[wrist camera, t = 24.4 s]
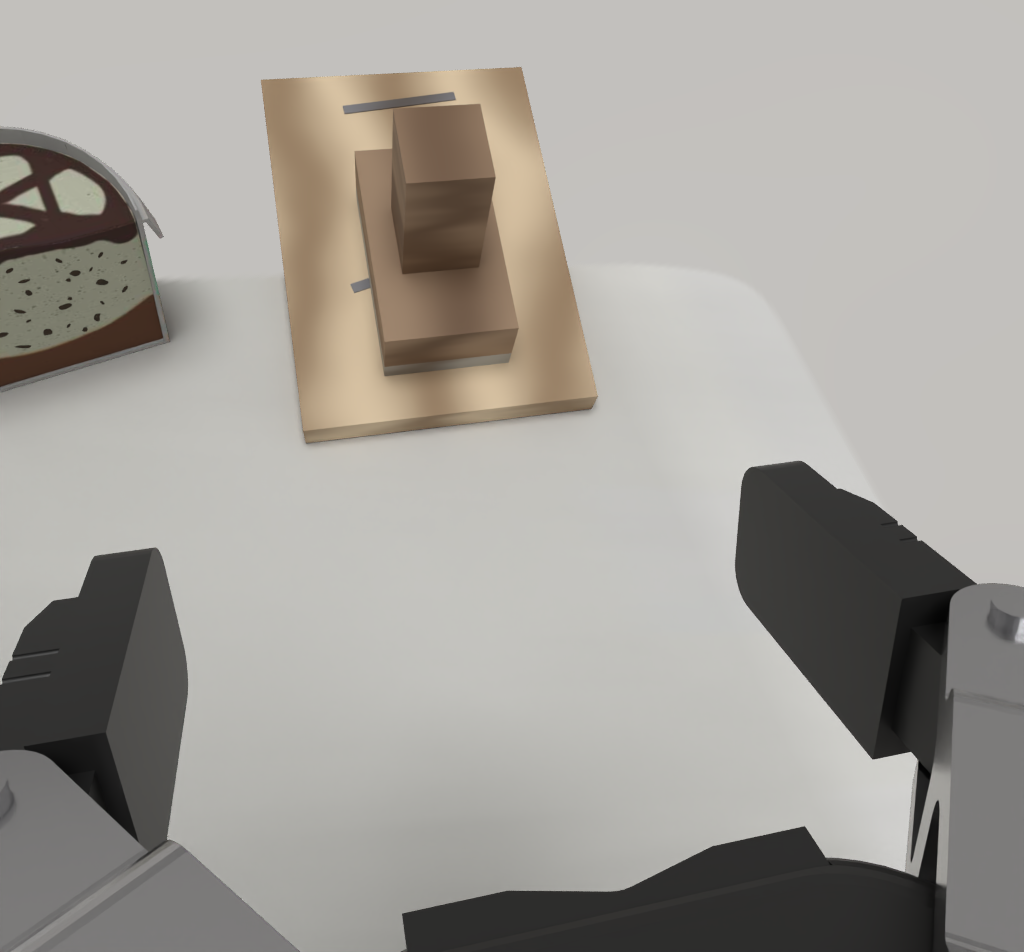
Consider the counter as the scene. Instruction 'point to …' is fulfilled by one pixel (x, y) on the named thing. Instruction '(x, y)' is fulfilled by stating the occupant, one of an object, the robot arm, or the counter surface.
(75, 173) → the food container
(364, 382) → the oak board
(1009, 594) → the robot arm
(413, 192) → the block
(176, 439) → the counter surface
